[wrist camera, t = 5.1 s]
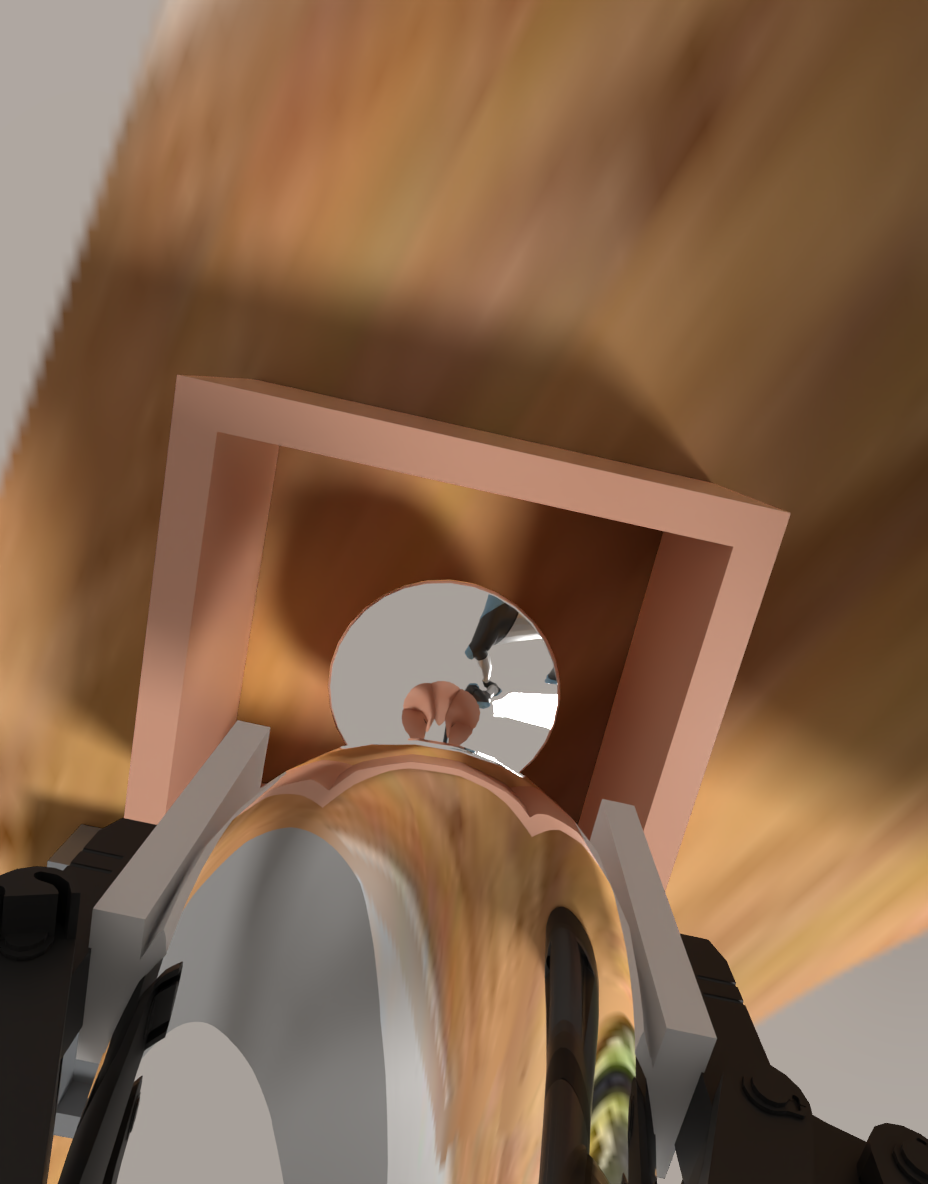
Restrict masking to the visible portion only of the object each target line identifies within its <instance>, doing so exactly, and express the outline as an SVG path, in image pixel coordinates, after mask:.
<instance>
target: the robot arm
mask: <svg viewBox="0 0 928 1184" xmlns="http://www.w3.org/2000/svg"><path fill="white" fill-rule="evenodd" d="M269 733H270V727H267V726H262V725H258V724H253V723H248V722H244V721H239V720H237V722H236V723H235V724H234V726H233V727H232V728H231V729H230V731H229V732H228V733H227V735H226V736H225V737H224V739H223V740H222V741H221V742H220V744H219V745H218V746H217V748H216V749H215V750H214V752H213V753H212V754H211V755H210V757H209V758H208V759H207V761H206V762H205V763H204V765H203V766H202V767H201V769H200V770H199V771H198V772H197V774H196V775H195V776H194V778H193V779H192V780H191V782H190V783H189V784H188V785H187V787H186V788H185V789H184V791H183V792H182V793H181V795H180V796H179V797H178V798H177V800H176V801H175V802H174V804H173V805H172V806H171V808H170V809H169V810H168V811H167V813H166V814H165V815H164V817H163V818H162V819H161V821H160V822H159V823H158V824H157V825H155V824H150V823H145V822H141V821H136V820H131V819H126V818H122V819H120V820H118V821H116V822H114V823H112V824H110V825H108V826H106V827H105V828H103V829H101V830H99V831H98V832H97V833H96V834H95V835H94V836H93V838H92V839H91V840H90V841H89V842H88V843H87V844H86V845H85V847H84V848H83V851H80V852H79V853H78V854H77V855H76V857H75V858H74V859H73V860H72V861H71V863H70V865H69V866H67V867H66V868H65V869H64V870H60V869H57V868H52V867H39V866H35V867H28V868H21V869H16V870H13V871H10V872H8V873H5V874H2V875H0V1184H47V1179H48V1171H49V1164H50V1156H51V1149H52V1141H53V1134H54V1126H55V1119H56V1111H57V1104H58V1096H59V1089H60V1081H61V1073H62V1064H63V1056H64V1054H65V1053H66V1051H67V1050H68V1048H69V1047H70V1045H71V1043H72V1042H73V1040H74V1039H75V1037H76V1036H77V1034H78V1033H79V1037H78V1045H77V1054H76V1059H78V1060H83V1061H88V1062H93V1063H98V1064H100V1061H101V1058H102V1055H103V1052H104V1050H105V1047H106V1044H107V1041H108V1038H109V1035H110V1033H111V1030H112V1027H113V1024H114V1021H115V1018H116V1016H117V1013H118V1011H119V1008H120V1006H121V1003H122V1001H123V998H124V996H125V993H126V991H127V988H128V986H129V984H130V981H131V979H132V976H133V974H134V971H135V969H136V967H137V965H138V963H139V961H140V959H141V957H142V955H143V952H144V950H145V948H146V946H147V944H148V942H149V940H150V938H151V936H152V934H153V932H154V930H155V928H156V926H157V924H158V922H159V920H160V918H161V917H162V915H163V913H164V911H165V909H166V907H167V905H168V903H169V901H170V900H171V898H172V896H173V894H174V892H175V890H176V888H177V887H178V885H179V884H180V882H181V880H182V879H183V877H184V875H185V874H186V872H187V870H188V869H189V867H190V865H191V864H192V862H193V860H194V859H195V857H196V856H197V854H198V853H199V852H200V851H201V849H202V848H203V847H204V846H205V844H206V843H207V842H208V841H209V840H210V838H211V837H212V836H213V835H214V834H215V832H216V831H217V830H218V829H219V827H220V826H221V825H222V824H223V823H224V822H225V821H226V820H227V819H228V818H229V816H230V815H231V814H232V813H233V812H234V811H235V810H236V809H237V808H238V807H239V806H240V805H241V804H242V803H243V802H244V801H245V800H246V799H247V798H248V797H249V796H250V795H251V794H252V793H254V792H255V791H257V790H258V789H260V786H261V780H262V775H263V769H264V763H265V757H266V751H267V745H268V739H269ZM590 843H591V844H592V845H593V847H594V848H595V849H596V851H597V852H598V854H599V856H600V858H601V860H602V862H603V865H604V867H605V869H606V871H607V873H608V875H609V878H610V880H611V882H612V884H613V886H614V888H615V891H616V894H617V896H618V899H619V901H620V904H621V906H622V909H623V911H624V914H625V917H626V919H627V922H628V924H629V927H630V932H631V936H632V941H633V946H634V951H635V956H636V960H637V965H638V971H639V976H640V982H641V988H642V994H643V1000H644V1006H645V1011H646V1018H647V1025H648V1033H649V1041H650V1049H651V1056H652V1069H653V1084H654V1098H655V1126H656V1169H657V1177H659V1178H664V1179H665V1176H666V1174H667V1171H668V1169H669V1166H670V1163H671V1160H672V1157H673V1155H674V1152H675V1150H676V1154H677V1158H678V1162H679V1166H680V1170H681V1173H682V1178H683V1180H682V1183H681V1184H928V1139H926V1138H925V1137H924V1136H922V1135H921V1134H919V1133H917V1132H915V1131H913V1130H910V1129H908V1128H906V1127H904V1126H901V1125H895V1124H889V1123H884V1124H881V1125H878V1126H875V1127H874V1129H873V1131H872V1132H871V1134H870V1136H869V1138H868V1140H867V1142H865V1141H863V1140H861V1139H859V1138H857V1137H855V1136H853V1135H851V1134H849V1133H847V1132H844V1131H842V1130H840V1129H838V1128H836V1127H834V1126H832V1125H830V1124H828V1123H826V1122H824V1121H822V1120H820V1119H819V1118H817V1117H815V1116H814V1115H812V1111H811V1107H810V1104H809V1102H808V1101H807V1099H806V1098H805V1096H804V1094H803V1093H802V1091H801V1090H800V1088H799V1087H798V1086H797V1085H796V1084H794V1083H793V1082H792V1081H791V1080H790V1079H789V1078H788V1077H787V1076H786V1075H785V1074H783V1073H782V1072H780V1071H779V1070H777V1069H776V1068H774V1067H772V1066H771V1065H770V1063H769V1061H768V1058H767V1056H766V1053H765V1051H764V1049H763V1046H762V1044H761V1042H760V1039H759V1037H758V1035H757V1032H756V1030H755V1027H754V1025H753V1023H752V1020H751V1018H750V1015H749V1013H748V1011H747V1008H746V1006H745V1005H743V999H742V996H741V994H740V992H739V989H738V987H736V986H735V984H736V982H735V980H734V977H733V975H732V973H731V970H730V968H729V966H728V963H727V961H726V960H725V959H724V957H723V956H722V955H721V954H720V953H719V952H718V951H717V949H716V948H715V947H714V946H713V945H712V944H711V942H710V941H709V940H707V939H703V938H698V937H693V936H688V935H684V934H680V933H679V930H678V927H677V925H676V922H675V919H674V916H673V913H672V911H671V908H670V905H669V902H668V899H667V896H666V894H665V891H664V888H663V885H662V882H661V880H660V877H659V874H658V871H657V868H656V865H655V863H654V860H653V857H652V854H651V851H650V849H649V846H648V843H647V840H646V837H645V835H644V832H643V829H642V826H641V823H640V820H639V818H638V815H637V812H636V809H635V806H633V805H629V804H624V803H619V802H615V801H610V800H605V799H602V801H601V804H600V808H599V811H598V815H597V818H596V821H595V825H594V828H593V831H592V835H591V838H590Z"/></svg>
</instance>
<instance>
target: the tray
mask: <svg viewBox="0 0 928 1184" xmlns="http://www.w3.org/2000/svg"><path fill="white" fill-rule="evenodd" d="M101 829H102V828H97V827H92V826H87V825H82V824H81V825H80V826H79V827H78V828H77V830H76V831H75V832H74V833H73V834H72V835H71V836H70V837H69V838H68V839H67V840H66V842H65V843H64V844H63V845H62V846H61V847H60V848H59V849H58V850H57V851H56V852H55V854H54V855H53V856H52V857H51V858H50V859H49V860H48V863H47V867H52V868H57V869H60V870H64V869H65V868H66V867H67V866H69V865H70V863H71V861H72V860H73V859H74V858H75V857H76V855H77V854H78V853H79V852H80V851H83V848H84V847H85V845H86V844H87V843H88V842H89V841H90V840H91V839H92V838H93V836H94V835H95V834H96V833H97V832H98V831H99V830H101ZM78 1037H79V1033H78V1034H77V1036H76V1037H75V1039H74V1040H73V1042H72V1043H71V1045H70V1047H69V1048H68V1050H67V1051H66V1053H65V1054H64V1056H63V1064H62V1073H61V1081H60V1089H59V1096H58V1104H57V1111H56V1119H55V1126H54V1134H53V1135H57V1136H62V1137H68V1138H73V1137H74V1135H75V1132H76V1129H77V1126H78V1123H79V1120H80V1118H81V1115H82V1112H83V1109H84V1106H85V1104H86V1101H87V1098H88V1095H89V1092H90V1089H91V1087H92V1084H93V1081H94V1078H95V1075H96V1072H97V1070H98V1067H99V1064H98V1063H93V1062H88V1061H83V1060H78V1059H76V1054H77V1045H78Z"/></svg>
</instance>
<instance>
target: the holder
mask: <svg viewBox="0 0 928 1184" xmlns="http://www.w3.org/2000/svg"><path fill="white" fill-rule="evenodd" d="M279 445H280V446H284V447H289V448H293V449H298V450H302V451H307V452H311V453H316V454H320V455H325V456H329V457H334V458H338V459H343V460H347V461H352V462H356V463H360V464H365V465H369V466H374V467H378V468H383V469H387V470H392V471H396V472H401V473H405V474H410V475H414V476H419V477H423V478H428V479H432V480H437V481H441V482H446V483H450V484H454V485H459V486H463V487H468V488H472V489H477V490H481V491H486V492H490V493H495V494H499V495H504V496H508V497H513V498H517V499H522V500H526V501H531V502H535V503H540V504H544V505H548V506H553V507H557V508H562V509H566V510H571V511H575V512H580V513H584V514H589V515H593V516H598V517H602V518H607V519H611V520H616V521H620V522H625V523H629V524H634V525H638V526H642V527H647V528H651V529H656V530H660V531H663V535H662V538H661V541H660V545H659V548H658V552H657V555H656V559H655V562H654V565H653V569H652V572H651V576H650V579H649V583H648V586H647V589H646V593H645V596H644V600H643V603H642V607H641V610H640V614H639V617H638V620H637V624H636V627H635V631H634V634H633V638H632V641H631V644H630V648H629V651H628V655H627V658H626V662H625V665H624V668H623V672H622V675H621V679H620V682H619V686H618V689H617V692H616V696H615V699H614V703H613V706H612V710H611V713H610V717H609V720H608V723H607V727H606V730H605V734H604V737H603V741H602V744H601V747H600V751H599V754H598V758H597V761H596V765H595V768H594V771H593V775H592V778H591V782H590V785H589V789H588V792H587V795H586V799H585V802H584V806H583V809H582V813H581V816H580V820H579V823H578V827H579V828H580V829H581V831H582V832H583V833H584V835H585V836H586V837H587V839H588V840H589V841H590V838H591V835H592V831H593V828H594V825H595V821H596V818H597V815H598V811H599V808H600V804H601V801H602V799H605V800H610V801H615V802H619V803H624V804H629V805H633V806H635V809H636V812H637V815H638V818H639V820H640V823H641V826H642V829H643V832H644V835H645V837H646V840H647V843H648V846H649V849H650V851H651V854H652V857H653V860H654V863H655V865H656V868H657V871H658V874H659V877H660V880H661V882H662V885H663V888H664V891H665V890H666V887H667V884H668V881H669V878H670V875H671V872H672V869H673V866H674V863H675V860H676V857H677V854H678V851H679V848H680V845H681V842H682V839H683V836H684V833H685V830H686V827H687V824H688V821H689V818H690V815H691V812H692V809H693V806H694V803H695V800H696V797H697V794H698V791H699V788H700V785H701V782H702V779H703V776H704V773H705V770H706V767H707V764H708V761H709V758H710V755H711V752H712V749H713V746H714V743H715V740H716V737H717V734H718V731H719V728H720V725H721V722H722V719H723V716H724V713H725V710H726V707H727V704H728V701H729V698H730V695H731V692H732V689H733V686H734V683H735V680H736V677H737V674H738V671H739V668H740V665H741V662H742V659H743V656H744V653H745V650H746V647H747V644H748V641H749V638H750V635H751V632H752V629H753V626H754V623H755V620H756V617H757V614H758V611H759V608H760V605H761V602H762V599H763V596H764V593H765V590H766V587H767V584H768V581H769V578H770V575H771V572H772V569H773V566H774V563H775V560H776V556H777V553H778V550H779V547H780V544H781V541H782V538H783V535H784V532H785V529H786V526H787V523H788V520H789V517H790V514H791V513H789V512H787V511H784V510H782V509H779V508H776V507H774V506H771V505H769V504H766V503H763V502H761V501H758V500H756V499H753V498H750V497H748V496H745V495H743V494H740V493H738V492H735V491H732V490H730V489H727V488H725V487H722V486H719V485H717V484H714V483H711V482H707V481H702V480H698V479H693V478H689V477H684V476H680V475H676V474H671V473H667V472H662V471H658V470H654V469H649V468H645V467H640V466H636V465H631V464H627V463H623V462H618V461H614V460H609V459H605V458H601V457H596V456H592V455H587V454H583V453H578V452H574V451H570V450H565V449H561V448H556V447H552V446H548V445H543V444H539V443H534V442H530V441H525V440H521V439H517V438H512V437H508V436H503V435H499V434H495V433H490V432H486V431H481V430H477V429H473V428H468V427H464V426H459V425H455V424H450V423H446V422H442V421H437V420H433V419H428V418H424V417H420V416H415V415H411V414H406V413H402V412H397V411H393V410H389V409H384V408H380V407H375V406H371V405H367V404H362V403H358V402H353V401H349V400H344V399H340V398H336V397H331V396H327V395H322V394H318V393H314V392H309V391H305V390H300V389H296V388H291V387H287V386H283V385H278V384H274V383H269V382H265V381H261V380H256V379H244V378H227V377H210V376H194V375H177V380H176V388H175V396H174V405H173V413H172V421H171V430H170V438H169V446H168V455H167V463H166V471H165V480H164V488H163V496H162V505H161V513H160V521H159V530H158V538H157V546H156V555H155V563H154V571H153V580H152V588H151V596H150V605H149V613H148V621H147V630H146V638H145V647H144V655H143V663H142V672H141V680H140V688H139V697H138V705H137V713H136V722H135V730H134V738H133V747H132V755H131V763H130V772H129V780H128V788H127V797H126V805H125V813H124V818H126V819H131V820H136V821H141V822H145V823H150V824H155V825H157V824H158V823H159V822H160V821H161V819H162V818H163V817H164V815H165V814H166V813H167V811H168V810H169V809H170V808H171V806H172V805H173V804H174V802H175V801H176V800H177V798H178V797H179V796H180V795H181V793H182V792H183V791H184V789H185V788H186V787H187V785H188V784H189V783H190V782H191V780H192V779H193V778H194V776H195V775H196V774H197V772H198V771H199V770H200V769H201V767H202V766H203V765H204V763H205V762H206V761H207V759H208V758H209V757H210V755H211V754H212V753H213V752H214V750H215V749H216V748H217V746H218V745H219V744H220V742H221V741H222V740H223V739H224V737H225V736H226V735H227V733H228V732H229V731H230V729H231V728H232V727H233V726H234V724H235V723H236V720H237V713H238V707H239V700H240V694H241V688H242V681H243V675H244V668H245V662H246V656H247V649H248V643H249V637H250V630H251V624H252V617H253V611H254V605H255V598H256V592H257V585H258V579H259V573H260V566H261V560H262V553H263V547H264V541H265V534H266V528H267V521H268V515H269V509H270V502H271V496H272V490H273V483H274V477H275V470H276V464H277V458H278V451H279ZM264 785H266V783H261V786H260V788H261V787H263V786H264Z"/></svg>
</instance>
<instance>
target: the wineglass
mask: <svg viewBox="0 0 928 1184" xmlns="http://www.w3.org/2000/svg"><path fill="white" fill-rule="evenodd" d="M328 692H329V704H330V709H331V712H332V716H333V719H334V722H335V726H336V728H337V730H338V732H339V734H340V735H341V737H342V739H343V741H344V743H345V745H346V746H342V747H339V748H337V749H334V750H332V751H329V752H327V753H325V754H322V755H320V756H317V757H315V758H312V759H310V760H307V761H305V762H303V763H301V764H299V765H297V766H295V767H293V768H291V769H289V770H287V771H285V772H284V773H282V774H281V775H279V776H278V777H276V778H275V779H273V780H272V781H270V782H269V783H267V784H266V785H264V786H263V787H261V788H260V789H258V790H257V791H255V792H254V793H252V794H251V795H250V796H249V797H248V798H247V799H246V800H245V801H244V802H243V803H242V804H241V805H240V806H239V807H238V808H237V809H236V810H235V811H234V812H233V813H232V814H231V815H230V816H229V818H228V819H227V820H226V821H225V822H224V823H223V824H222V825H221V826H220V827H219V829H218V830H217V831H216V832H215V834H214V835H213V836H212V837H211V838H210V840H209V841H208V842H207V843H206V844H205V846H204V847H203V848H202V849H201V851H200V852H199V853H198V854H197V856H196V857H195V859H194V860H193V862H192V864H191V865H190V867H189V869H188V870H187V872H186V874H185V875H184V877H183V879H182V880H181V882H180V884H179V885H178V887H177V888H176V890H175V892H174V894H173V896H172V898H171V900H170V901H169V903H168V905H167V907H166V909H165V911H164V913H163V915H162V917H161V918H160V920H159V922H158V924H157V926H156V928H155V930H154V932H153V934H152V936H151V938H150V940H149V942H148V944H147V946H146V948H145V950H144V952H143V955H142V957H141V959H140V961H139V963H138V965H137V967H136V969H135V971H134V974H133V976H132V979H131V981H130V984H129V986H128V988H127V991H126V993H125V996H124V998H123V1001H122V1003H121V1006H120V1008H119V1011H118V1013H117V1016H116V1018H115V1021H114V1024H113V1027H112V1030H111V1033H110V1035H109V1038H108V1041H107V1044H106V1047H105V1050H104V1052H103V1055H102V1058H101V1061H100V1064H99V1067H98V1070H97V1072H96V1075H95V1078H94V1081H93V1084H92V1087H91V1089H90V1092H89V1095H88V1098H87V1101H86V1104H85V1106H84V1109H83V1112H82V1115H81V1118H80V1120H79V1123H78V1126H77V1129H76V1132H75V1135H74V1137H73V1140H72V1143H71V1146H70V1149H69V1152H68V1154H67V1158H66V1161H65V1164H64V1167H63V1170H62V1173H61V1176H60V1179H59V1182H58V1184H657V1169H656V1126H655V1098H654V1084H653V1069H652V1056H651V1049H650V1041H649V1033H648V1025H647V1018H646V1011H645V1006H644V1000H643V994H642V988H641V982H640V976H639V971H638V965H637V960H636V956H635V951H634V946H633V941H632V936H631V932H630V927H629V924H628V922H627V919H626V917H625V914H624V911H623V909H622V906H621V904H620V901H619V899H618V896H617V894H616V891H615V888H614V886H613V884H612V882H611V880H610V878H609V875H608V873H607V871H606V869H605V867H604V865H603V862H602V860H601V858H600V856H599V854H598V852H597V851H596V849H595V848H594V847H593V845H592V844H591V843H590V841H589V840H588V839H587V837H586V836H585V835H584V833H583V832H582V831H581V829H580V828H579V827H578V825H577V824H576V823H575V821H574V820H573V819H572V818H571V817H570V816H569V815H568V814H567V813H566V812H565V811H564V810H563V809H562V808H561V807H560V806H559V805H558V804H557V803H556V802H555V801H554V800H552V799H551V798H550V797H549V796H548V795H547V794H546V793H545V792H543V791H542V790H541V789H540V788H539V787H538V786H537V785H535V784H534V783H533V782H532V781H531V780H530V779H529V778H527V777H526V776H524V775H522V774H521V772H522V771H523V770H524V769H525V768H526V767H527V766H528V765H529V764H531V763H532V762H533V761H534V760H535V758H536V757H537V756H538V754H539V753H540V751H541V750H542V749H543V747H544V746H545V745H546V743H547V741H548V739H549V737H550V735H551V732H552V730H553V728H554V726H555V723H556V719H557V715H558V710H559V705H560V676H559V672H558V667H557V662H556V658H555V656H554V654H553V651H552V649H551V647H550V645H549V642H548V640H547V638H546V637H545V635H544V634H543V632H542V631H541V630H540V628H539V627H538V625H537V624H536V623H535V621H534V620H533V619H532V618H531V617H530V616H529V615H528V614H527V613H526V612H525V611H523V610H522V609H521V608H520V607H519V606H518V605H517V604H516V603H514V602H512V601H511V600H509V599H508V598H506V597H504V596H503V595H501V594H499V593H498V592H496V591H493V590H491V589H488V588H485V587H483V586H480V585H477V584H475V583H469V582H463V581H457V580H425V581H421V582H416V583H412V584H407V585H404V586H401V587H399V588H397V589H394V590H392V591H390V592H388V593H385V594H383V595H382V596H380V597H379V598H377V599H376V600H374V601H373V602H372V603H370V604H369V605H367V606H366V607H365V608H364V609H363V610H362V611H361V612H360V613H359V614H358V615H357V616H356V617H355V618H354V619H353V620H352V621H351V622H350V623H349V625H348V627H347V628H346V630H345V632H344V633H343V635H342V637H341V638H340V640H339V641H338V644H337V646H336V649H335V652H334V655H333V658H332V661H331V664H330V672H329V680H328Z"/></svg>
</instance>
